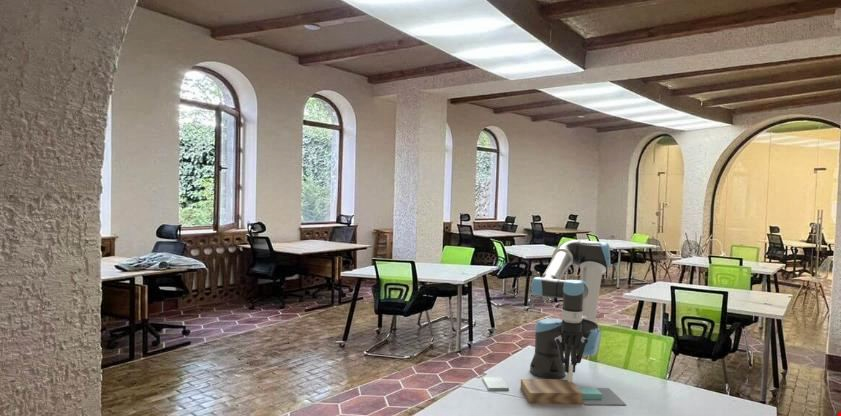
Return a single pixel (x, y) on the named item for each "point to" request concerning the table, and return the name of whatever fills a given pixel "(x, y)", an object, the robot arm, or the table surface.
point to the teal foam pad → (590, 393)
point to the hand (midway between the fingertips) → (569, 380)
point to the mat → (604, 398)
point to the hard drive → (495, 384)
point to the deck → (551, 391)
